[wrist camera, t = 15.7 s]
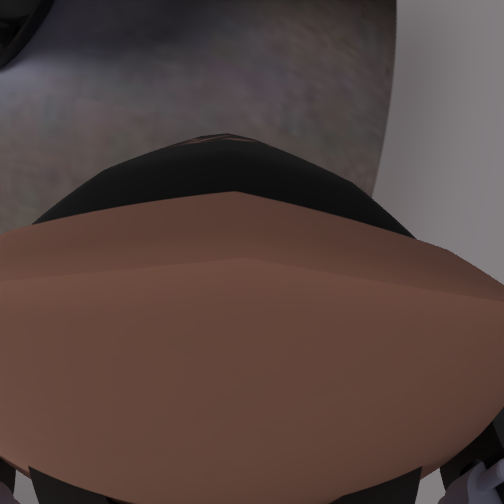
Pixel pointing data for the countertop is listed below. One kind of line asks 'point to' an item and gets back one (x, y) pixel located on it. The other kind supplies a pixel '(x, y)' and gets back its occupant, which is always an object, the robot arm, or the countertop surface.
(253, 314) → the coffee jar
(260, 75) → the countertop surface
